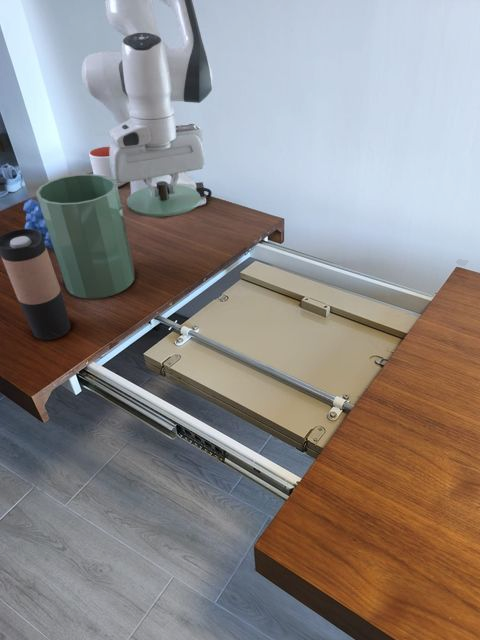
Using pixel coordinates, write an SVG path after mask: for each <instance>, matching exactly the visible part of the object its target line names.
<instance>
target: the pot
mask: <svg viewBox="0 0 480 640" xmlns="http://www.w3.org/2000/svg"><path fill="white" fill-rule="evenodd" d="M35 195H36V198H37V202H38V203H39V205H40V208H41V211H42V214H43V218H44V221H45V224H46V227H47V230H48V233H49V236H50V239H51V243H52V246H53V249H52V250H53V251H54V255H55V259H56V261H57V264H58V267H59V270H60V274H61V277H62V280H63V283H64V286H65V289H66V291H68V293H70V294H71V295H73V296H75V297H77V298H81V299H90V300H91V299H102V298H107V297H111V296H115V295H117V294H119V293H122V292H123V291H126V289H128V288H129V287H130V286H131V285H132V283H134V281H135V277H136V276H135V273H136V272H135V267H134V261H133V257H132V252H131V247H130V242H129V236H128V232H127V227H126V222H125V217H124V213H123V208H122V201H121V198H120V192H119V187H117V184H116V182H115V181H114V180H113V179H111V178H109V177H106V176H102V175H95V174H93V173H87V174H86V173H84V174H83V173H82V174H81V173H80V174H79V173H78V174H72V175H66V176H60V177H58V178H54V179H51V180H48V181H47V182H45V183H43V184H42V185H40V186H39V187H38V189H37V190H36V192H35Z"/></svg>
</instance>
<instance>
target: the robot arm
mask: <svg viewBox="0 0 480 640" xmlns="http://www.w3.org/2000/svg"><path fill="white" fill-rule="evenodd" d="M159 1H160V2H162V3H164V4H165V5H167V6H168V7H169V8H170V9H172V11H173V12H174V14H175V17H176V22H177V25H178V29H179V33H180V37H181V41H182V46H181V47H179V48H170V47H169V46H168V45H167V43H166V42H165V41H164V39H163V38H162V36H161V34H160V31H159V30H158V26H157V23H156V17H155V10H154V1H153V0H104V3H105V13H106V18H107V20H108V23H109V24H110V26H111V27H112V28H113V29H114V30H115V31H116V32H118V33H119V34H121V35H123V36H124V38H123V39H122V42H121V50H103V51H98V52H94V53H91V54H88V55H86V56H85V58H84V60H83V62H82V66H81V78H82V82H83V85H84V87H85V89H86V90H87V92H88V93H89V94H90V96H92V97H93V98H94V99H95V100H97V101H98V102H100V103H101V104H102V105H103V106H104V107H105V108H107V110H108V111H109V112H110V113H111V115H112V116H113V117H114V119H115V121H116V123H117V125H116V126H114V127H112V128H111V129H110V130H109V136H110V139H111V141H112V143H111V144H110V146H109V147H110V150H109V156H110V167H111V173H112V176H113V178H114V179H115V180H116V181H117V182H119V183H125V182H126V183H129V184H130V195H131V194H133V193H134V192H136V191H138V190H141V189H144V188H147V187H149V188H150V193H151V196H152V197H158V196H159V190H158V188H157V187H153V186H157V185H156V183H157V182H160V181H165V182H167V184H168V192H169V194H174V193H175V185H180V186H185V187H189V188H192V189H194V190H196V191H197V192H198V193H199V194H200V197H201V201H200V203H199V205H198V206H197V207H200V206H203V205H206V203H207V198H208V199H210V198H211V197H212V194H213V193H212V190H211V189H210V188H207V187H205V186H204V182H203V181H201V182H196V181H195V179H194V177H192V176H191V175H190V174H189V173H187V172H193V171H198V170H203V169H204V167H205V165H206V160H205V153H204V149H203V148H204V147H203V145H202V143H203V131H202V129H201V127H200V126H198V125H196V124H195V123H188V124H184V125H183V124H181V125H180V124H179V125H176V117H175V111H174V110H175V109H174V106H173V105H172V102H184V103H194V104H200V103H201V102H203V101H204V100H205V99H206V98H208V96H209V95H210V93H211V92H212V90H213V89H212V87H213V79H214V78H213V70H212V65H211V63H210V59H209V58H208V55H207V53H206V49H205V45H204V43H203V42H204V41H203V38H202V35H201V30H200V25H199V24H198V23H199V22H198V17H197V15H196V10H195V7H194V6H195V5H194V1H193V0H159ZM126 183H125V184H126ZM205 192H206V193H207V195H206V193H205ZM165 217H166V216H164V217H163V218H165Z"/></svg>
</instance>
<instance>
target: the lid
mask: <svg viewBox="0 0 480 640" xmlns="http://www.w3.org/2000/svg"><path fill="white" fill-rule="evenodd" d="M156 185H157V186H153V187H157V188H158V190H159V196H158V197H152V196H151V193H150V188H149V187H147V188H144V189H141V190H138V191H136V192H134V193H133V194H131V193H130V195H129V196H128V197H127V199H126V206H127V208H128V210H130V211H131V212H132V213H135V214H137V215H141V216H145V217H155V218H161V217H162V218H165V217H172V216H178V215H183V214H185V213H188V212H190V211H192V210H194V209H196V208H197V207H199V206H198V205H199V203H200V201H201V197H200V194H199V193H198V192H197V191H196V190H194V189H192V188H189V187H185V186H180V185H175V193H174V194H169V192H168V184H167V182H165V181H160V182H157V183H156ZM164 216H165V217H164Z"/></svg>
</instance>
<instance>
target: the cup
mask: <svg viewBox="0 0 480 640" xmlns="http://www.w3.org/2000/svg"><path fill="white" fill-rule="evenodd" d="M109 150H110V146H101V147H97V148H93V149H91V150H90V151H89V152H88V156H89V160H90V165H91V169H92V174H95V175H102V176H106V177H109V178H111V179H113V180H114V181H115V182H116V184H117V187H118V188H119V187H122V186H124V185H125V184H126V183H127V182H125V183H119V182H117V181H116V180H115V179H114V178H113V176H112V173H111V167H110V156H109Z"/></svg>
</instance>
